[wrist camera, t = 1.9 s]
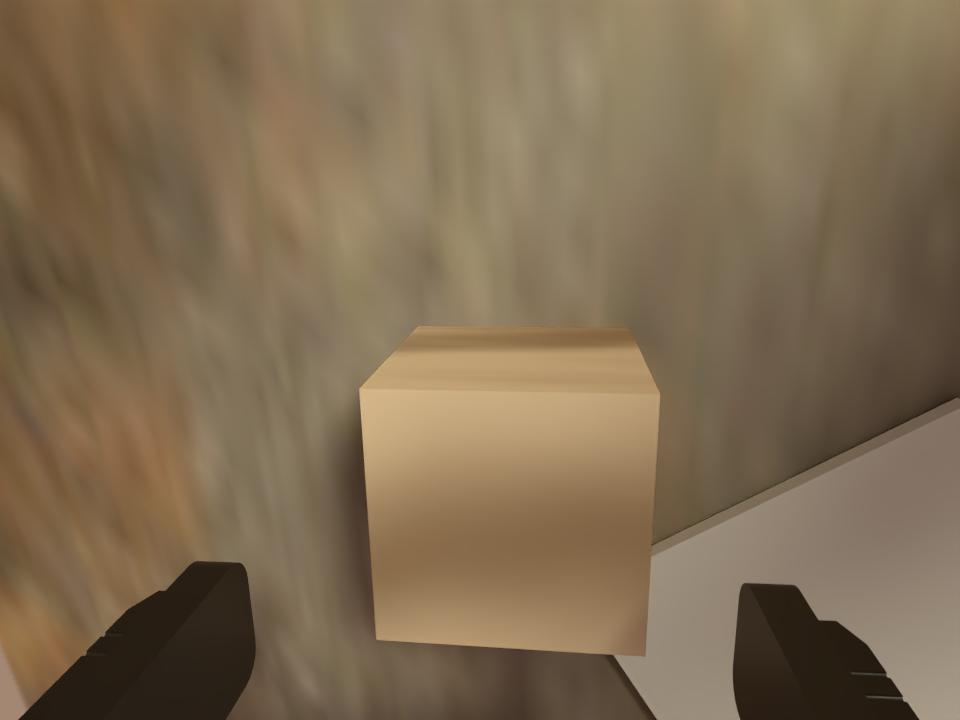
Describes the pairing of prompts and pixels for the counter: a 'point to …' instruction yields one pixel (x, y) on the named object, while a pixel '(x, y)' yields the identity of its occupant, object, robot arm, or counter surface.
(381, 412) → the tan cube block
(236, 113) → the counter surface
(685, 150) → the counter surface
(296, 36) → the counter surface
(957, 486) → the mat
